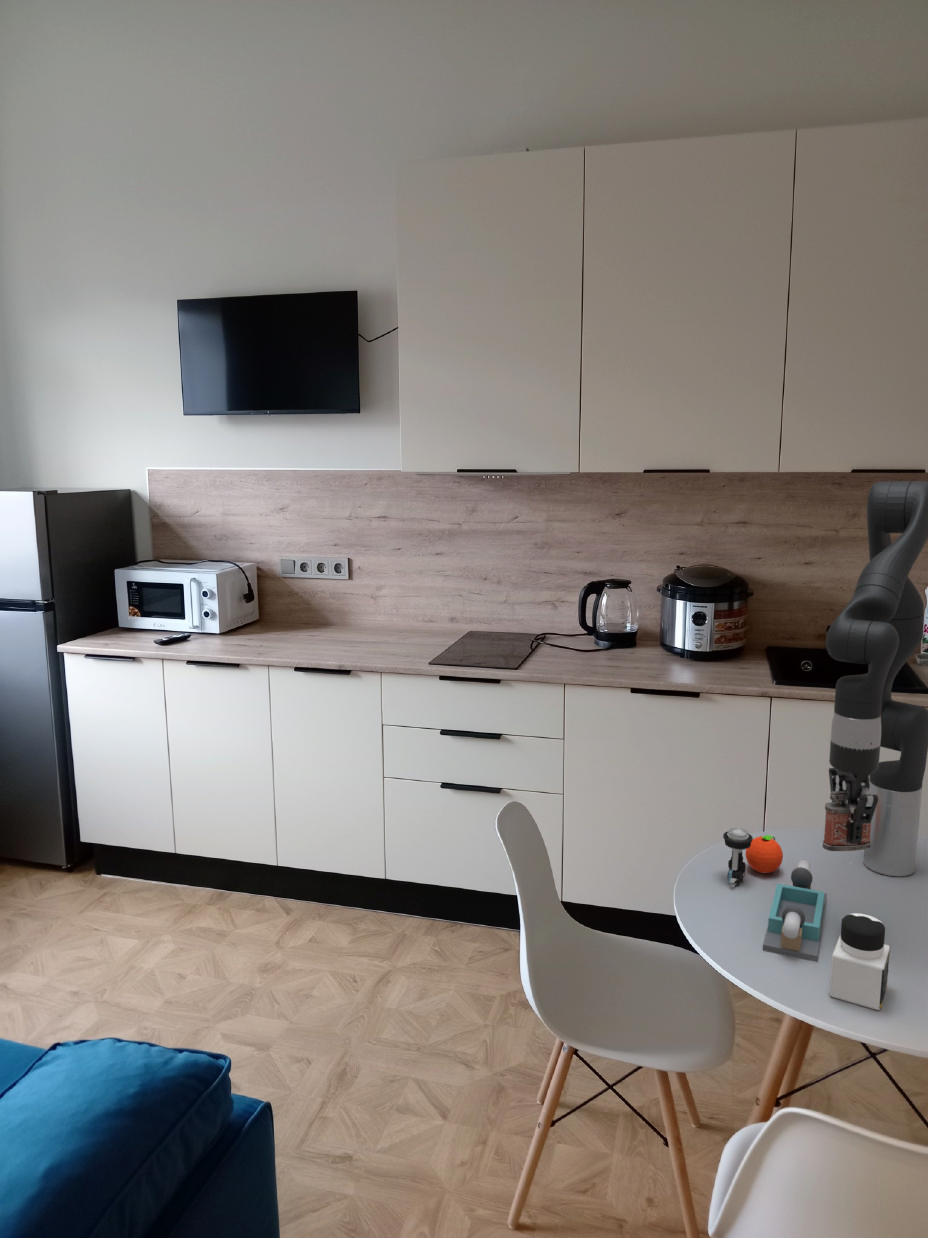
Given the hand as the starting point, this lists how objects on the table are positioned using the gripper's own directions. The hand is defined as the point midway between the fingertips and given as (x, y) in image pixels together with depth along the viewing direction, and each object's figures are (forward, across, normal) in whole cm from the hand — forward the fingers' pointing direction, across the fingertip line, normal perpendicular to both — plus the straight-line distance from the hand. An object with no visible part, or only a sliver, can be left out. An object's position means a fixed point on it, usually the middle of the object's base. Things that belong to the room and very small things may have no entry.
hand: (848, 837), depth 151 cm
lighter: (+2, 0, 0) cm, 2 cm away
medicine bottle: (+17, -17, +5) cm, 25 cm away
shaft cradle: (+17, +3, +7) cm, 19 cm away
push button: (+17, +18, +13) cm, 28 cm away
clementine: (+17, +22, +6) cm, 29 cm away
